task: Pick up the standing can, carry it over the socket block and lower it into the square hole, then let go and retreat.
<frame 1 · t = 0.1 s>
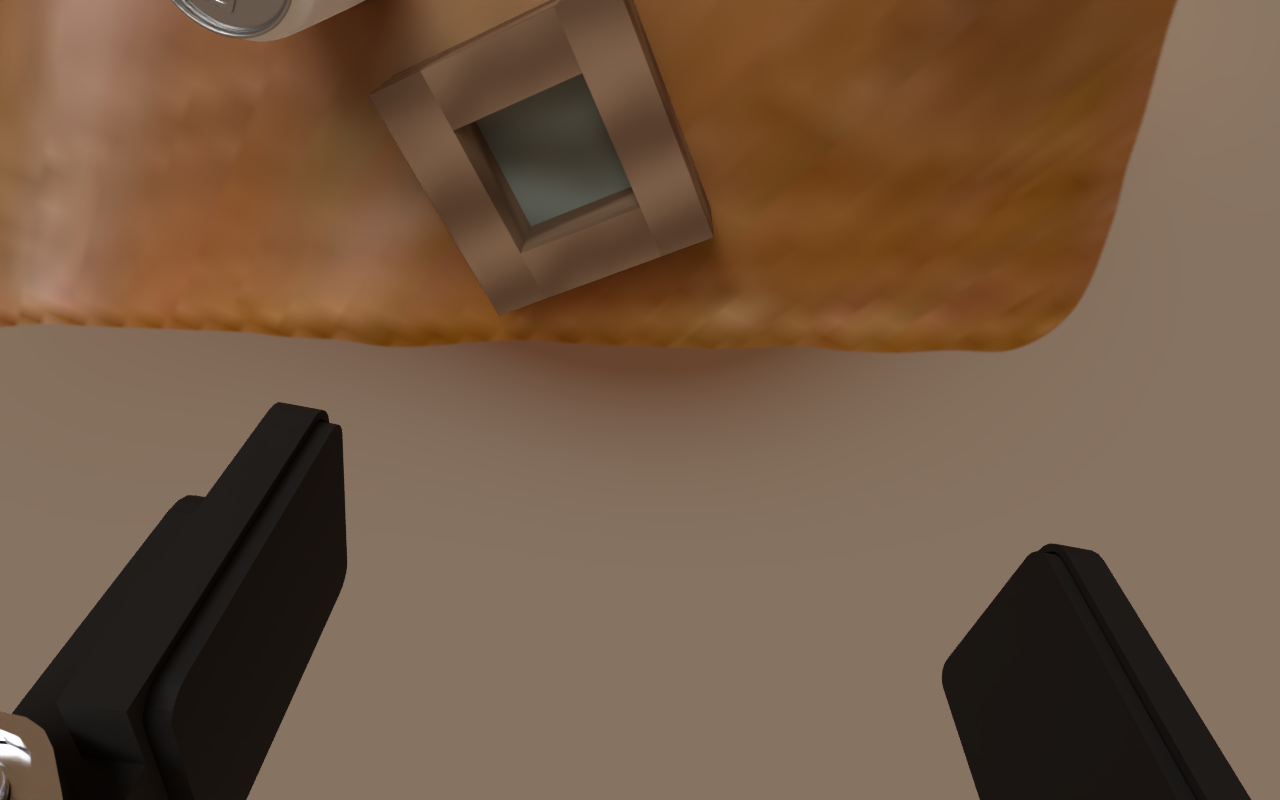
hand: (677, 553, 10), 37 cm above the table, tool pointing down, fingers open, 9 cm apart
socket block: (559, 144, 44), on the table
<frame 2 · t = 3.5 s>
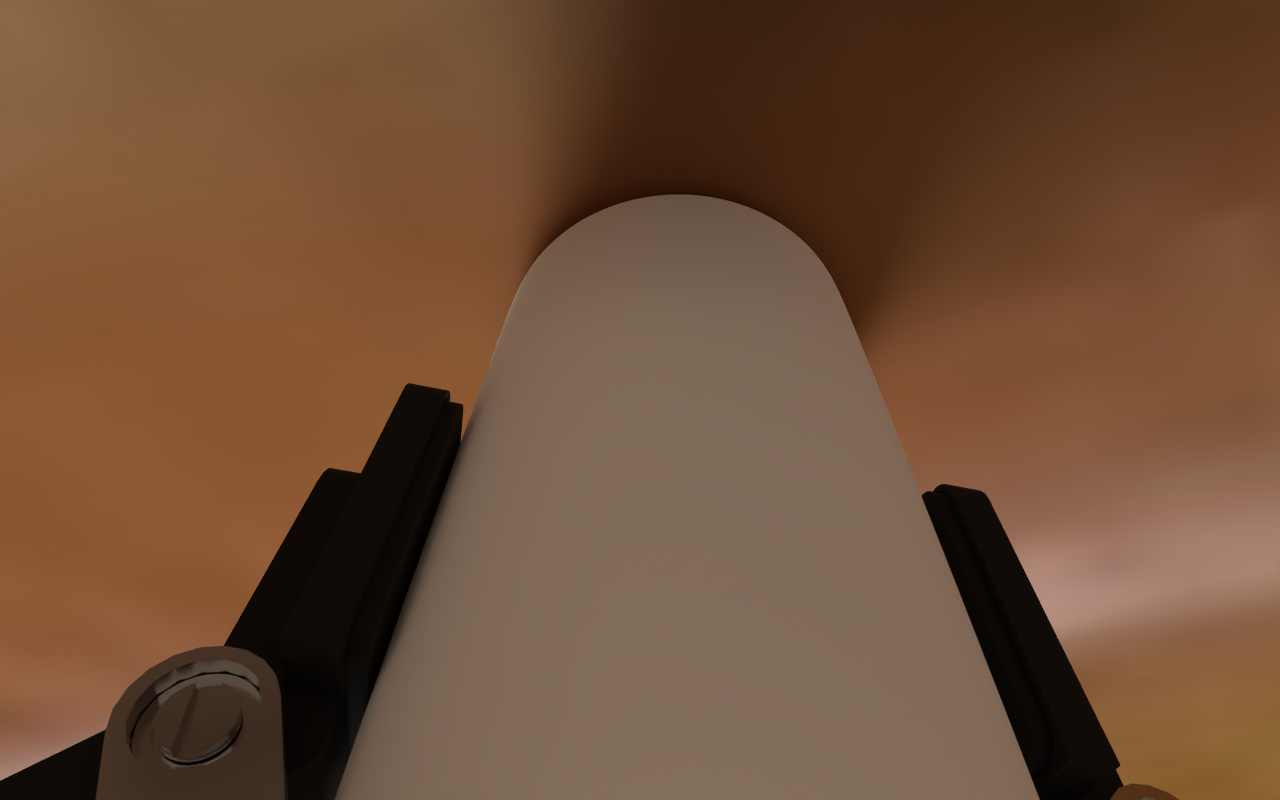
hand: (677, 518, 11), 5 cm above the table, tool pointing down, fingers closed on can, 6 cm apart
can: (675, 340, 15), on the table, touching gripper
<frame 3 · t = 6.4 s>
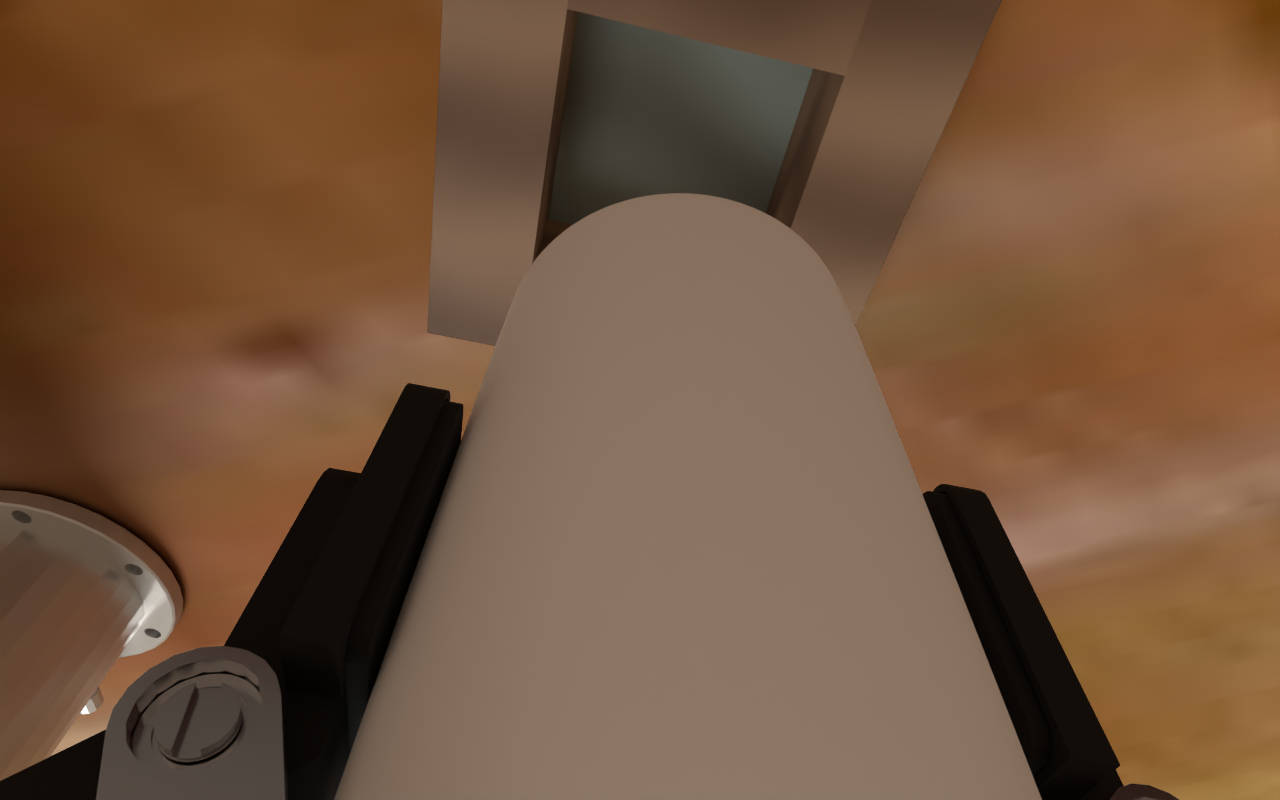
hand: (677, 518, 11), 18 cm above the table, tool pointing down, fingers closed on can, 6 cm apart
socket block: (674, 134, 25), on the table
can: (675, 339, 15), point 13 cm above the table, touching gripper
when the fingers open (7 cm above the table, at t = 9.2 s): can drops 2 cm, resting on socket block.
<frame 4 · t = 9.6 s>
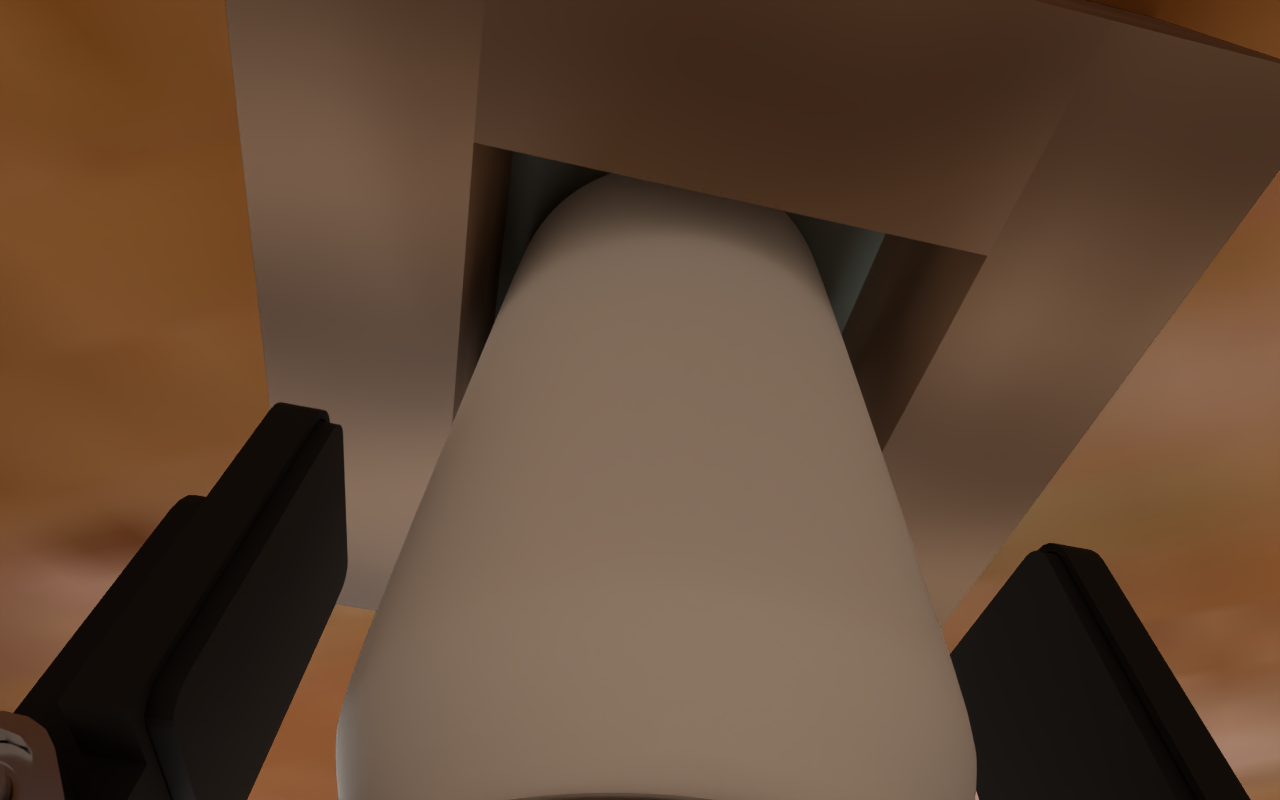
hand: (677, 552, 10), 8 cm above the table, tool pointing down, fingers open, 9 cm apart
socket block: (675, 286, 16), on the table
can: (667, 299, 16), resting on socket block
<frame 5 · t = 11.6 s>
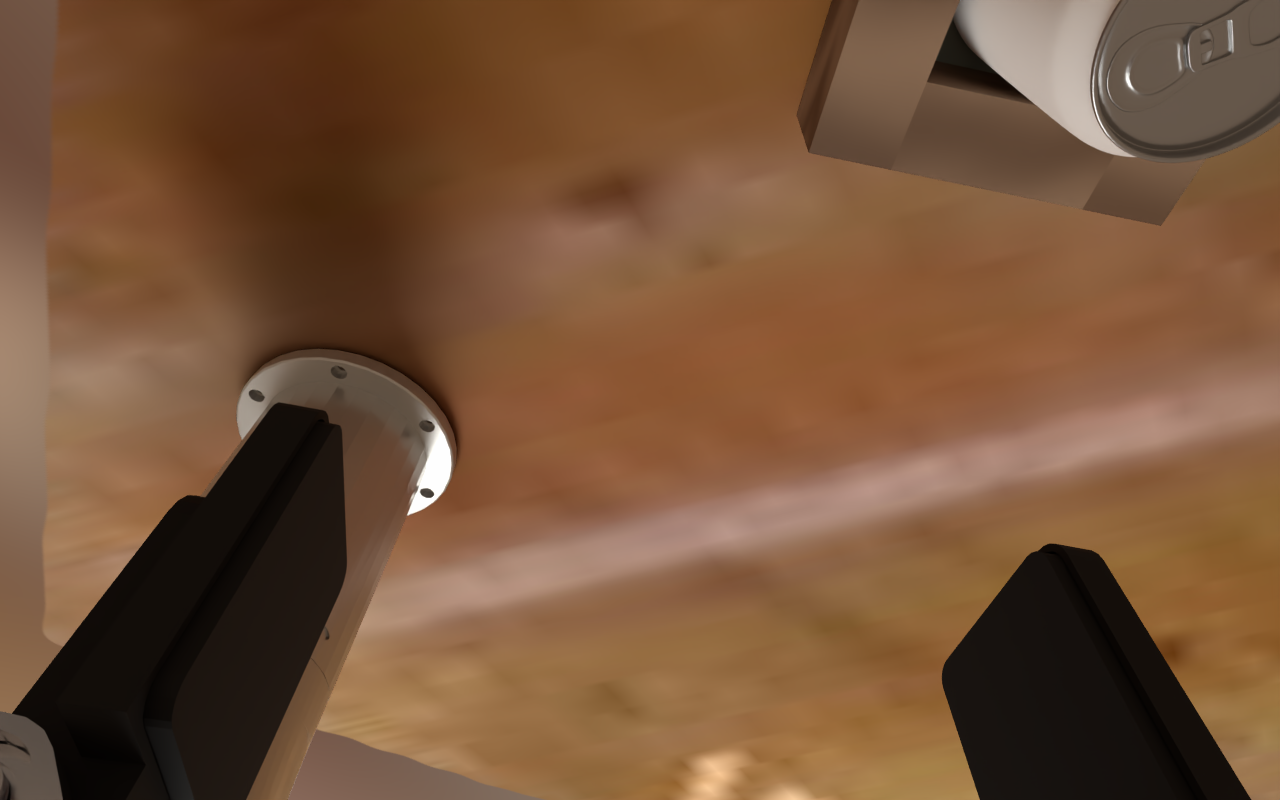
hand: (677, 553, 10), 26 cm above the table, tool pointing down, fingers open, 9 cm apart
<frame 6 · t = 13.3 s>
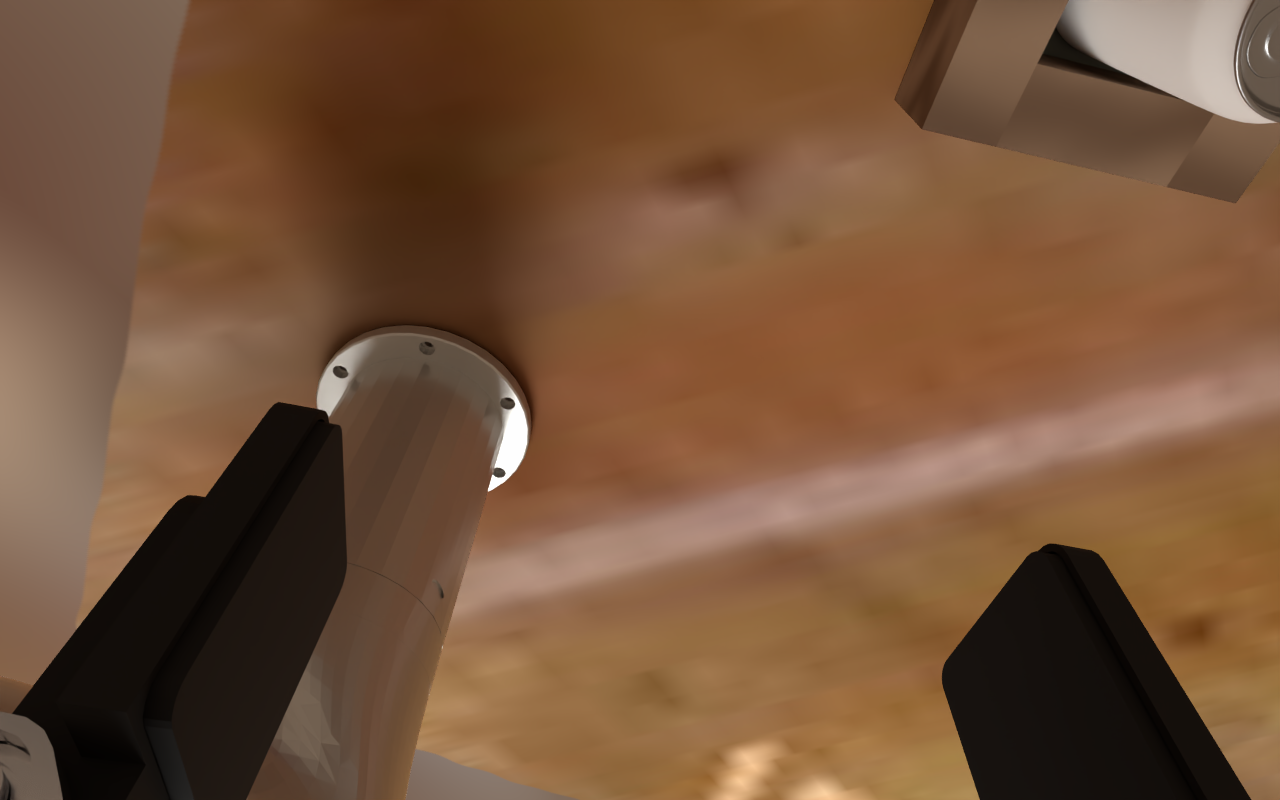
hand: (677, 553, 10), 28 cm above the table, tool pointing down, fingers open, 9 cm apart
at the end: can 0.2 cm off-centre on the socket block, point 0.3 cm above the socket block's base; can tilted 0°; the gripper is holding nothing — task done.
